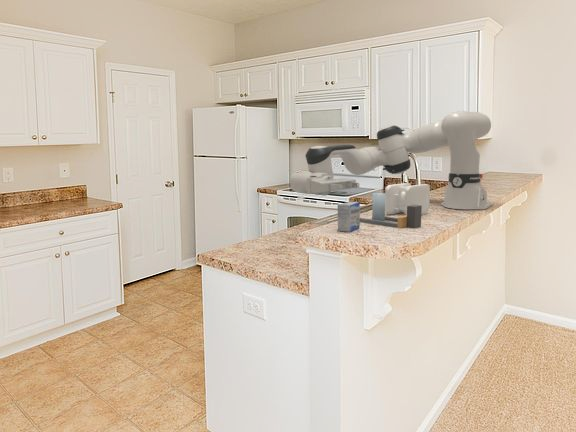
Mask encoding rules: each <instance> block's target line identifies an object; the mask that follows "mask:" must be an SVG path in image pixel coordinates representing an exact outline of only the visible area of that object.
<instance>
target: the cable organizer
mask: <svg viewBox="0 0 576 432" xmlns="http://www.w3.org/2000/svg"><path fill="white" fill-rule="evenodd" d="M430 192H431V187H430V185H429V184H428V183H427V184H426V183H421V184H414V185H412V184H411V183H408V182H404V183H403V182H402V183H395V184H388V185H387V186H386V187H385V189H384V193H385V214H389V215H397V213H401V214H402V213H404V214H405V215H407V206H410V205H421V206H422V210H421V216H423V215H426V214H427V213H428V212H429V210H430V202H431V201H430V197H431V195H430V194H431V193H430Z"/></svg>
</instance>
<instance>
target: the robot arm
mask: <svg viewBox="0 0 576 432" xmlns="http://www.w3.org/2000/svg"><path fill="white" fill-rule="evenodd" d="M491 128H492V121H491V119H490V117H489V116H488V115H486V114H484V113H482V112H478V111H465V110H462V111H461V110H457V111H454V112H451V113H448V114H446V115H445V116H444V117H443V119H442V120H437V121H435V122H432V123H429V124H426V125H423V126H420V127H417V128H415V129H414V130H411V131H410V132H407V133H403V132H404V131H405V129H402V128H401V127H399V126H397V125H394V124H393V125H389V124H388V125H386V126H383V127H381V128H380V129H379V130H378V131H377V132H376V140H377V141H378V146H379V147H378V146H365V147H362V148H357V147H356V146H355V145H352V144H337V145H334V144H333V145H326V146H325V145H314V146H311V147H309V148H308V150H307V151H306V153H305V158H306V163H307V168H308V171H300V172H294V173H292V174H291V175H290V177H289V186H290V188H291V190H292V191H294V192H296V193H299V194H303V195H304V194H306V195H315V196H322V197H323V196H328V195H330V193H331V192H336V191H337V192H338V191H344V190H352V189H357V188H360V182H357V180H356V179H355V178H334V172H333V166H332V156H339V157H340V158H341V160H342V163H343V166H344V167H345V169H346V170H347V171H348V172H349V173H350V174H352V175H355V176H361V175H364V174H366V173H369V172H371V171H373V170H375V169H377V168H379V167H383V168H382V170H383V171H386V172H387V173H389V174H392V175H400V174H403V173H405V172H407V171H408V170H409V169H410V168H411V159H410V157H409V153H410V154H420V153H427V152H429V151H432V150H437V149H440V148H444V147H447V146H449V147H448V148H449V152H450V162H449V163H450V167H449V169H450V171H449V173H448V178H447V179H448V182H449V183H448V184H446V186H445V190H444V197H443V202H441V203H440V205H441V206H443V207H445V208H446V209H447V208H448V209H454V210H487V209H489V208H490V207H492V206H493V202H489V201H487V199H488V196H487V195H488V193H487V190H486V189H485V188H484V187H483V185H482V184H481V180H482V179H483V177H484V176H483V173H480V158H481V157H480V152H479V151H478V150H477V147H476V143H475V140H477V139H481V138H483V137H485V136H487V135H488V134H489V132H490V131H491Z"/></svg>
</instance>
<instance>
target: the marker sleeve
mask: <svg viewBox="0 0 576 432" xmlns="http://www.w3.org/2000/svg"><path fill="white" fill-rule="evenodd" d="M371 203H372V204H371V205H372V207H371V209H372V213H371V219H372V220H379V221H386V220H385V216H386V212H385V192H373V193H372V202H371Z"/></svg>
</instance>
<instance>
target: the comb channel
mask: <svg viewBox="0 0 576 432" xmlns="http://www.w3.org/2000/svg"><path fill="white" fill-rule="evenodd" d="M421 210H422V206H421V205H410V206H407V215H406V214H405V215H401V216H397V217H394V216H386V215H385V221H379V220H372V218H366V217H365V218H363V217H360V223H363V222H364V223H365V224H371V225H377V226H383V227H391V228H398V229H404V228H411V229H416V228H420V227H422V215H421ZM364 223H363V224H364Z"/></svg>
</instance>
